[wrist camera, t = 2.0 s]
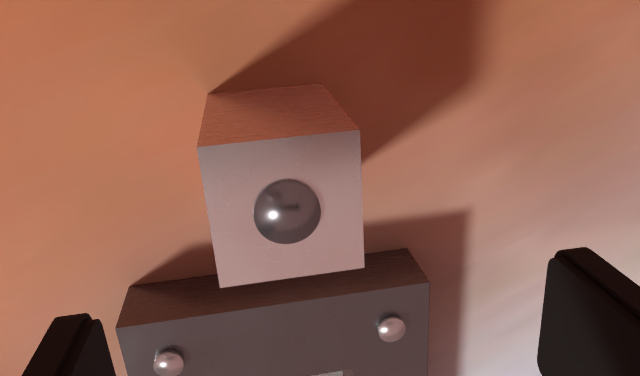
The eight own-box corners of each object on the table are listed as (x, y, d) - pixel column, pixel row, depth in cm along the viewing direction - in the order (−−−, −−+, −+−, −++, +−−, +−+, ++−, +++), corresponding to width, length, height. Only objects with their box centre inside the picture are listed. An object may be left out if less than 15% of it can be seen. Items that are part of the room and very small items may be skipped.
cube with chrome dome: (207, 93, 21) (196, 148, 14) (321, 83, 21) (361, 131, 15) (223, 198, 22) (219, 290, 16) (327, 186, 23) (365, 270, 16)
